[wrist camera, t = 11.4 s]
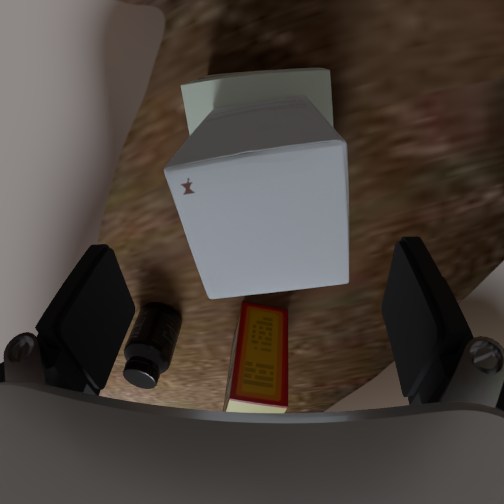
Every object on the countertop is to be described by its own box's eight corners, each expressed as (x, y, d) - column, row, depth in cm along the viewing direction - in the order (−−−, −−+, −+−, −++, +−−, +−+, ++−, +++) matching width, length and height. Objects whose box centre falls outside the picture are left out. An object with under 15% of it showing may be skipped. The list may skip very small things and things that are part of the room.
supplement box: (229, 194, 27) (203, 303, 16) (210, 107, 22) (156, 165, 12) (319, 183, 26) (351, 288, 15) (309, 93, 21) (348, 136, 11)
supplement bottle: (146, 329, 51) (124, 388, 41) (136, 299, 47) (108, 361, 37) (185, 332, 51) (168, 396, 41) (178, 302, 47) (157, 368, 37)
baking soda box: (272, 349, 51) (268, 438, 38) (232, 342, 51) (219, 432, 38) (287, 309, 46) (288, 409, 33) (242, 301, 46) (229, 401, 32)
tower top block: (194, 80, 25) (180, 85, 22) (321, 67, 24) (329, 70, 20) (213, 190, 32) (205, 212, 28) (327, 182, 30) (334, 203, 26)
